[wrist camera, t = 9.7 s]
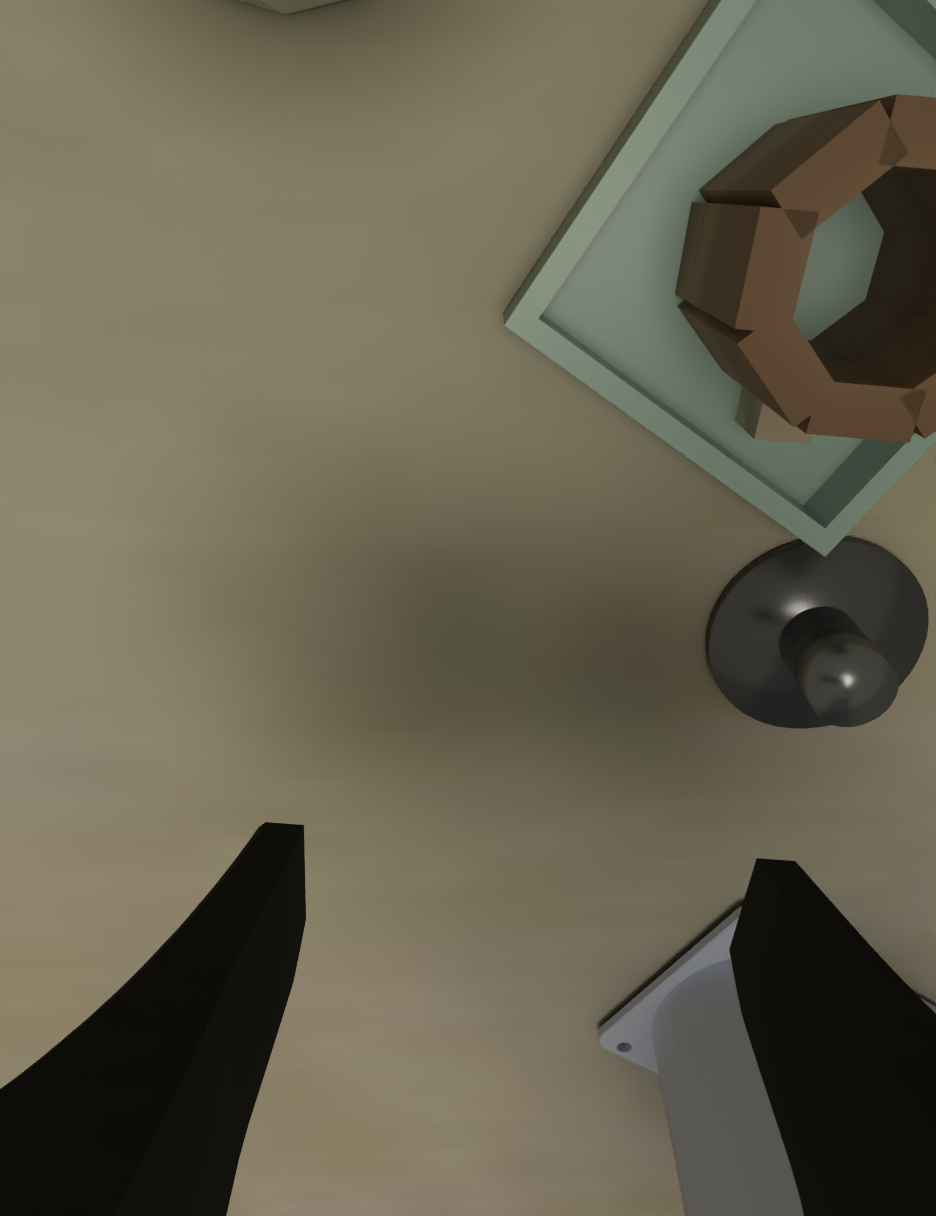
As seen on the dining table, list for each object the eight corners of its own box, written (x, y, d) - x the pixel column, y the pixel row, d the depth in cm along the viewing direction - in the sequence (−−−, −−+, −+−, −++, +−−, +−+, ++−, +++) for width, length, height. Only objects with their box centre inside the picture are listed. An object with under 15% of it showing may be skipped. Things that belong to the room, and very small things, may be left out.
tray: (1103, 192, 17) (1174, 193, 16) (796, 525, 21) (825, 556, 19) (786, -115, 15) (824, -154, 13) (503, 312, 19) (504, 325, 17)
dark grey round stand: (967, 609, 22) (1031, 666, 19) (813, 752, 24) (852, 820, 21) (811, 493, 20) (856, 538, 18) (662, 655, 23) (684, 715, 20)
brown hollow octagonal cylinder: (707, 112, 16) (787, 84, 12) (957, 135, 17) (1129, 114, 12) (652, 413, 19) (701, 481, 15) (867, 432, 19) (980, 505, 15)
